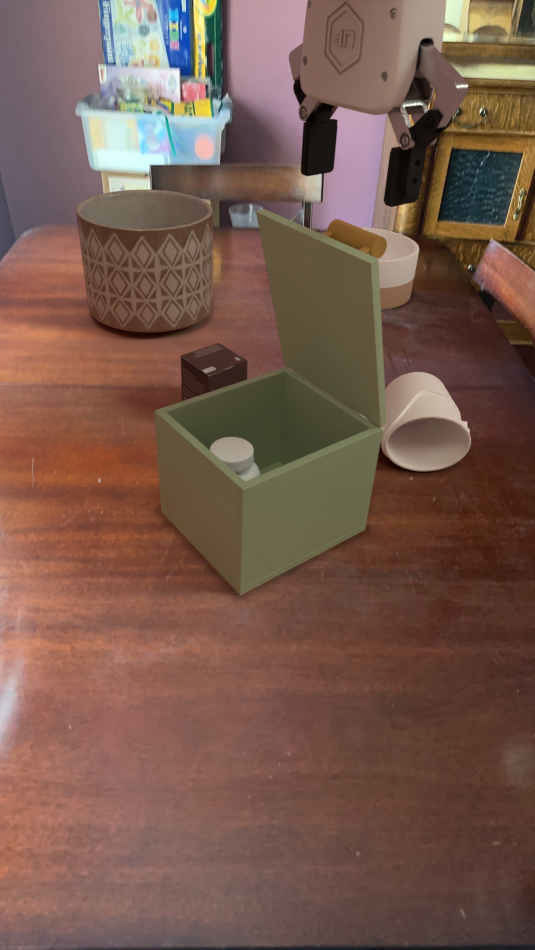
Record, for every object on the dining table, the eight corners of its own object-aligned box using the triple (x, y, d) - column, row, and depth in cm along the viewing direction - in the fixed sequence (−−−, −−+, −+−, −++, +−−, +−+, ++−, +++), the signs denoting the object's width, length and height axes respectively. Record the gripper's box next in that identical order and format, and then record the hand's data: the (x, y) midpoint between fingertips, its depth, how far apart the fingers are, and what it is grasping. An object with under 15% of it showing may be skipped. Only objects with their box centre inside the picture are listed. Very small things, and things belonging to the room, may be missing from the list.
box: (219, 392, 89) (219, 341, 85) (247, 412, 85) (249, 360, 81) (181, 406, 86) (178, 354, 81) (208, 427, 82) (208, 374, 78)
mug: (446, 429, 84) (459, 372, 79) (462, 475, 77) (479, 415, 72) (350, 425, 84) (358, 368, 79) (357, 471, 77) (367, 411, 72)
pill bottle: (242, 505, 70) (244, 426, 64) (267, 537, 66) (272, 457, 60) (194, 520, 68) (192, 440, 62) (217, 554, 64) (217, 472, 58)
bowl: (411, 315, 111) (420, 265, 106) (307, 304, 113) (312, 255, 108) (410, 277, 125) (418, 231, 120) (318, 268, 126) (322, 222, 121)
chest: (240, 596, 61) (243, 489, 53) (160, 511, 70) (153, 410, 62) (365, 530, 69) (383, 429, 61) (280, 461, 77) (286, 366, 70)
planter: (65, 328, 102) (48, 216, 92) (126, 283, 117) (118, 183, 107) (182, 352, 98) (178, 237, 88) (230, 302, 112) (232, 199, 102)
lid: (370, 263, 49) (426, 230, 51) (255, 211, 58) (307, 185, 60) (380, 427, 61) (425, 395, 63) (283, 364, 69) (326, 337, 71)
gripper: (260, -94, 47) (254, 169, 57) (452, -98, 36) (402, 225, 47) (340, -87, 51) (321, 158, 61) (536, -89, 40) (472, 209, 50)
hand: (356, 187), depth 54 cm, fingers open, 9 cm apart
